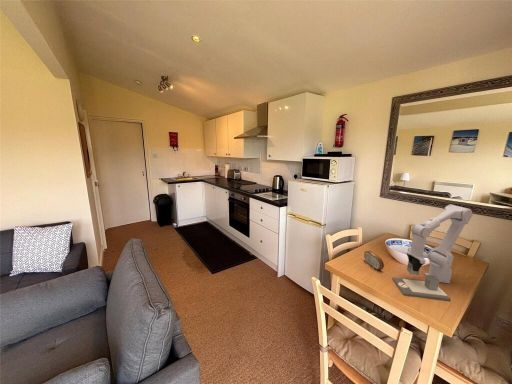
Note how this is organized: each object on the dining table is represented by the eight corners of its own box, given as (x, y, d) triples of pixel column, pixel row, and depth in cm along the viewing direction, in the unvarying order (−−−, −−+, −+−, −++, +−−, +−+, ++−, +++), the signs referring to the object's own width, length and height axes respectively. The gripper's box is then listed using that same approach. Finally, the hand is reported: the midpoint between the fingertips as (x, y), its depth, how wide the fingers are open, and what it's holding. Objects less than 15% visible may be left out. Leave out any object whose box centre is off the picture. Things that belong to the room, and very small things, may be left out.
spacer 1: (414, 271, 121) (416, 261, 120) (418, 275, 118) (420, 265, 116) (406, 270, 122) (408, 260, 121) (410, 274, 118) (412, 264, 117)
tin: (383, 272, 130) (385, 259, 129) (378, 272, 130) (380, 260, 128) (366, 259, 145) (368, 248, 143) (362, 260, 144) (364, 248, 143)
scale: (433, 283, 120) (433, 280, 119) (450, 301, 106) (450, 297, 106) (392, 279, 124) (392, 276, 123) (403, 295, 110) (404, 292, 110)
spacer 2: (432, 285, 115) (434, 275, 114) (437, 290, 111) (439, 280, 110) (424, 284, 116) (426, 274, 115) (428, 289, 112) (430, 279, 111)
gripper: (403, 240, 124) (399, 261, 127) (416, 251, 110) (412, 275, 113) (417, 241, 123) (413, 262, 126) (431, 253, 109) (427, 277, 112)
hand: (413, 268), depth 119 cm, fingers closed on spacer 1, 4 cm apart
